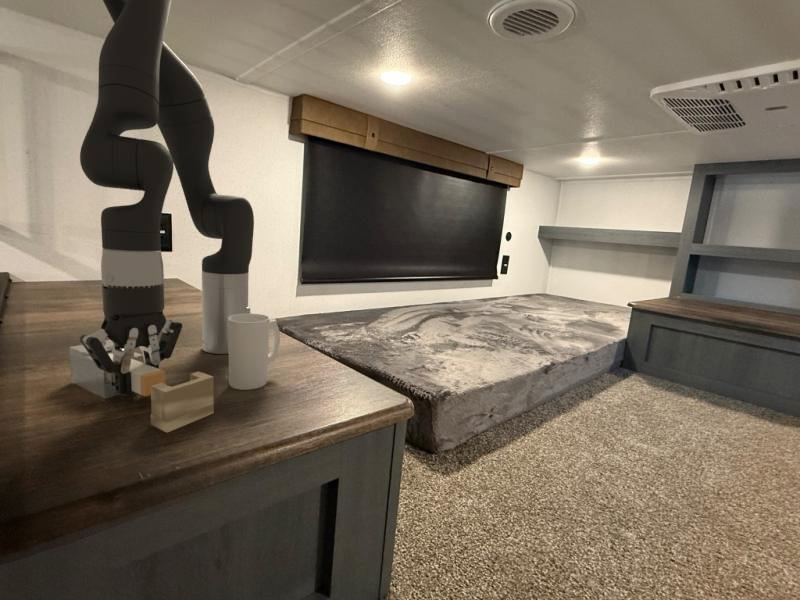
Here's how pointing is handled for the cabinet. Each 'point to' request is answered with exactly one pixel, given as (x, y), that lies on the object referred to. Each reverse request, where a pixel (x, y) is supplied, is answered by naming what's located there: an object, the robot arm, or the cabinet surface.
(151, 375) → the cream square bar
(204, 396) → the socket
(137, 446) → the cabinet surface
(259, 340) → the mug
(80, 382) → the grey slotted channel block
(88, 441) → the cabinet surface
